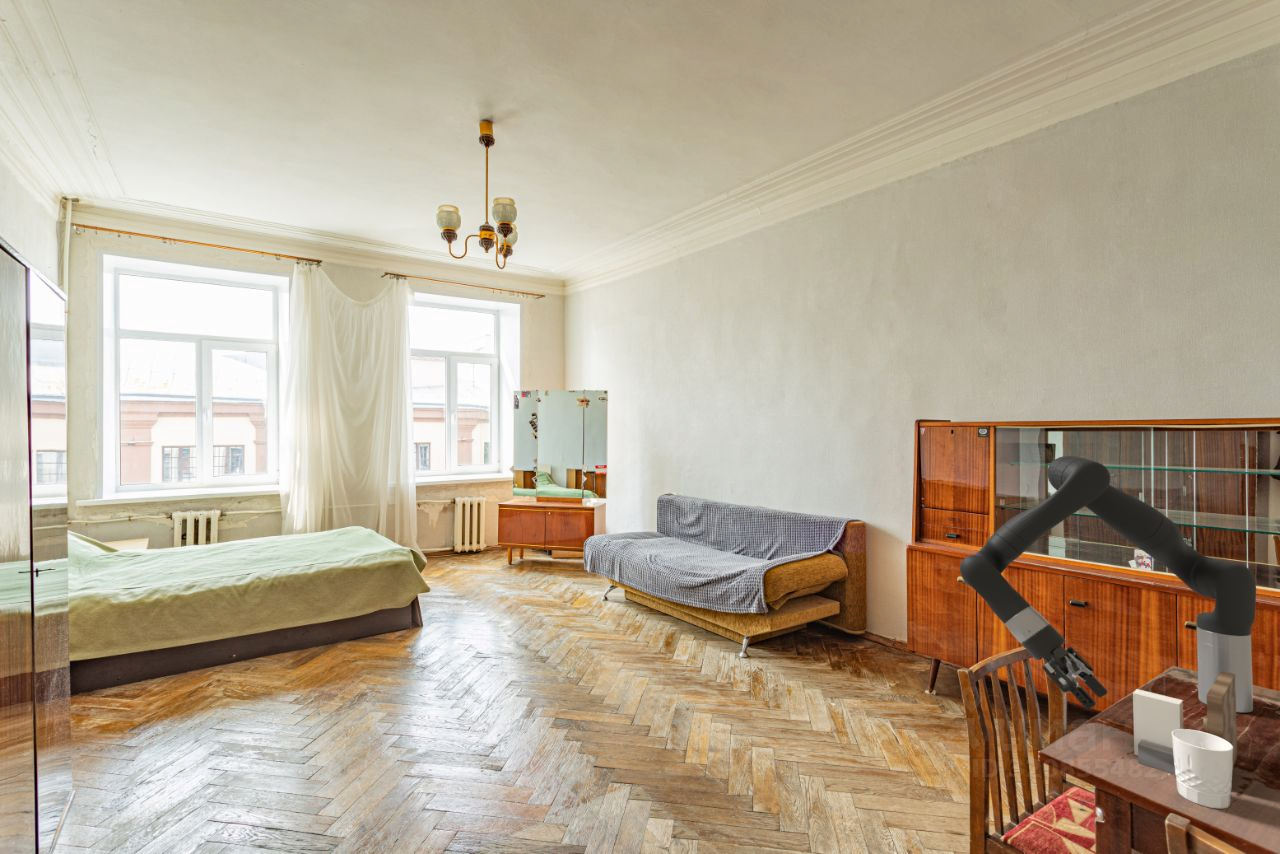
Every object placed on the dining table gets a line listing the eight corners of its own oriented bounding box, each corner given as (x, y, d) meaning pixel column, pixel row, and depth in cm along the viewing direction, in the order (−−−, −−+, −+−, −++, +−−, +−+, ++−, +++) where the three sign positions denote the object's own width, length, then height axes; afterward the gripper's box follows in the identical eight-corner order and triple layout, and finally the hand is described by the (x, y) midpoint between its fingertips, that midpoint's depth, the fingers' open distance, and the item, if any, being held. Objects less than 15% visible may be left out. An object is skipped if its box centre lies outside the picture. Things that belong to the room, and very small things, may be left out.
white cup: (1163, 791, 109) (1161, 734, 109) (1188, 781, 112) (1187, 725, 112) (1219, 816, 102) (1217, 754, 102) (1244, 804, 105) (1243, 745, 105)
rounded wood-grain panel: (1158, 734, 129) (1156, 657, 130) (1237, 756, 120) (1235, 674, 120) (1138, 762, 118) (1136, 678, 119) (1224, 789, 109) (1221, 698, 109)
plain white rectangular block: (1138, 749, 123) (1136, 689, 124) (1184, 763, 118) (1182, 700, 118) (1134, 754, 121) (1132, 693, 122) (1181, 768, 116) (1179, 704, 116)
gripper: (1036, 630, 130) (1104, 701, 121) (1058, 616, 139) (1122, 682, 130) (1009, 649, 134) (1073, 720, 125) (1032, 634, 143) (1093, 699, 134)
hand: (1098, 700), depth 128 cm, fingers open, 8 cm apart
